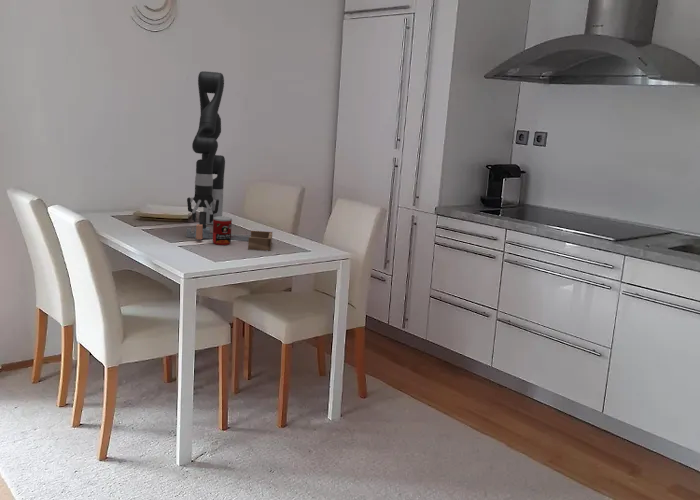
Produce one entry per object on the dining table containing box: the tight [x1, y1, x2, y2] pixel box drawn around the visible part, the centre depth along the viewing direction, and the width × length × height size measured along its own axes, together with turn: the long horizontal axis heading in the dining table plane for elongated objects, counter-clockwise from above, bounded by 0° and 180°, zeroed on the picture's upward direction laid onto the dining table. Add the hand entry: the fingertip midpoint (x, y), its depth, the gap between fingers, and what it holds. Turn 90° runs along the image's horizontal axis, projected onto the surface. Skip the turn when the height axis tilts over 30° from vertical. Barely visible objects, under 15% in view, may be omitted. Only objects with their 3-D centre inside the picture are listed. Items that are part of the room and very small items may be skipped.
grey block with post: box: [193, 211, 211, 240], centre depth 287 cm, size 13×6×11 cm, turn 4°
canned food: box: [212, 215, 233, 246], centre depth 283 cm, size 8×8×11 cm
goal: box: [247, 230, 273, 252], centre depth 284 cm, size 15×9×5 cm, turn 4°
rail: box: [185, 227, 251, 242], centre depth 292 cm, size 3×30×4 cm, turn 94°
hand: (202, 221), depth 290 cm, fingers open, 6 cm apart
